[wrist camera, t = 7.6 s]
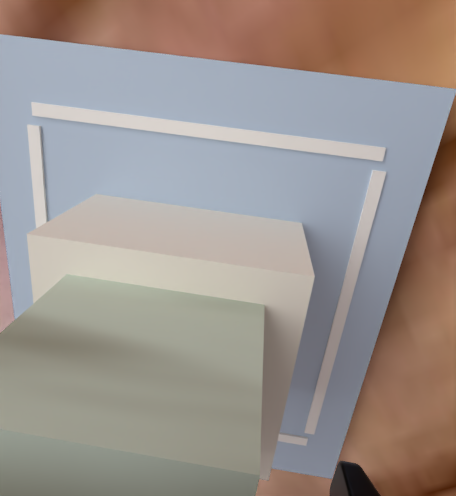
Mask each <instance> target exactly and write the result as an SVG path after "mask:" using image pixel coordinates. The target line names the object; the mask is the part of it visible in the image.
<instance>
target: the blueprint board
mask: <svg viewBox="0 0 456 496" xmlns="http://www.w3.org/2000/svg"><path fill="white" fill-rule="evenodd" d="M455 94H456V89H452V88H443V87H435V86H427V85H418V84H410V83H402V82H393V81H385V80H377V79H368V78H360V77H352V76H343V75H335V74H327V73H318V72H310V71H302V70H293V69H285V68H277V67H268V66H260V65H252V64H243V63H235V62H227V61H218V60H210V59H202V58H193V57H185V56H177V55H168V54H160V53H152V52H143V51H135V50H127V49H118V48H110V47H102V46H93V45H85V44H77V43H68V42H60V41H52V40H43V39H35V38H27V37H18V36H10V35H2V34H0V202H1V211H2V219H3V227H4V235H5V243H6V252H7V260H8V268H9V276H10V284H11V293H12V301H13V309H14V317H15V320H16V319H17V318H18V317H19V316H20V315H21V314H22V313H23V312H25V311H26V310H27V309H28V308H29V307H30V306H31V305H33V304H34V303H35V302H36V301H37V300H38V299H39V298H40V297H42V296H43V295H44V294H45V293H46V292H47V291H48V290H49V289H51V288H52V287H53V286H54V285H55V284H56V283H57V282H58V281H60V280H61V279H62V278H63V277H64V276H65V275H66V274H70V275H76V276H82V277H89V278H95V279H102V280H108V281H115V282H121V283H128V284H134V285H140V286H147V287H153V288H160V289H166V290H173V291H179V292H186V293H192V294H199V295H205V296H211V297H218V298H224V299H231V300H237V301H244V302H250V303H257V304H263V305H265V309H264V345H263V380H262V416H261V452H260V477H259V479H262V480H267V481H269V477H270V472H271V468H273V469H278V470H284V471H290V472H295V473H301V474H307V475H313V476H318V477H324V478H330V479H332V477H333V474H334V471H335V468H336V465H337V462H338V458H339V455H340V452H341V449H342V446H343V443H344V440H345V437H346V434H347V430H348V427H349V424H350V421H351V418H352V415H353V412H354V409H355V405H356V402H357V399H358V396H359V393H360V390H361V387H362V384H363V380H364V377H365V374H366V371H367V368H368V365H369V362H370V359H371V356H372V352H373V349H374V346H375V343H376V340H377V337H378V334H379V331H380V327H381V324H382V321H383V318H384V315H385V312H386V309H387V306H388V303H389V299H390V296H391V293H392V290H393V287H394V284H395V281H396V278H397V274H398V271H399V268H400V265H401V262H402V259H403V256H404V253H405V250H406V246H407V243H408V240H409V237H410V234H411V231H412V228H413V225H414V221H415V218H416V215H417V212H418V209H419V206H420V203H421V200H422V197H423V193H424V190H425V187H426V184H427V181H428V178H429V175H430V172H431V168H432V165H433V162H434V159H435V156H436V153H437V150H438V147H439V144H440V140H441V137H442V134H443V131H444V128H445V125H446V122H447V119H448V115H449V112H450V109H451V106H452V103H453V100H454V97H455Z"/></svg>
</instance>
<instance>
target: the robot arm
mask: <svg viewBox="0 0 456 496" xmlns="http://www.w3.org/2000/svg"><path fill="white" fill-rule="evenodd" d="M330 496H381V495H380V494H379V493H378V491H377V490H376V488H375V487H374V485H373V484H372V482H371V481H370V479H369V478H368V476H367V475H366V473H365V472H364V471H363V469H362V468H361V467H360V466H359V465H358V464H356V463H350V462H345V461H340V462H339V463H338V465H337V468H336V471H335V474H334V477H333V480H332V483H331V487H330Z"/></svg>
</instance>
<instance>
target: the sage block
mask: <svg viewBox="0 0 456 496" xmlns="http://www.w3.org/2000/svg"><path fill="white" fill-rule="evenodd" d="M264 309H265V305H263V304H257V303H250V302H244V301H237V300H231V299H224V298H218V297H211V296H205V295H199V294H192V293H186V292H179V291H173V290H166V289H160V288H153V287H147V286H140V285H134V284H128V283H121V282H115V281H108V280H102V279H95V278H89V277H82V276H76V275H70V274H66V275H65V276H64V277H63V278H62V279H61V280H60V281H58V282H57V283H56V284H55V285H54V286H53V287H52V288H51V289H49V290H48V291H47V292H46V293H45V294H44V295H43V296H42V297H40V298H39V299H38V300H37V301H36V302H35V303H34V304H33V305H31V306H30V307H29V308H28V309H27V310H26V311H25V312H23V313H22V314H21V315H20V316H19V317H18V318H17V319H16V320H14V321H13V322H12V323H11V324H10V325H9V326H8V327H7V328H5V329H4V330H3V331H2V332H1V333H0V496H255V495H256V491H257V486H258V482H259V477H260V452H261V416H262V380H263V345H264Z"/></svg>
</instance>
